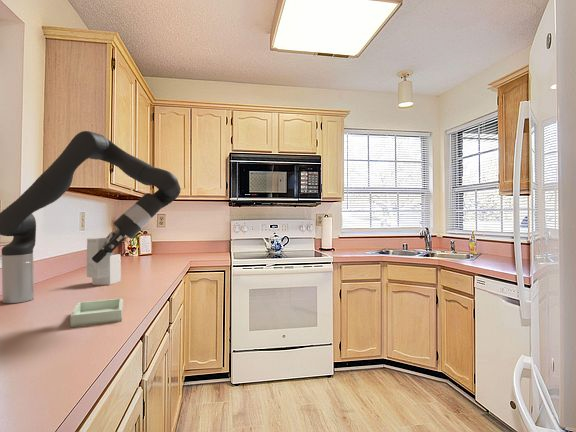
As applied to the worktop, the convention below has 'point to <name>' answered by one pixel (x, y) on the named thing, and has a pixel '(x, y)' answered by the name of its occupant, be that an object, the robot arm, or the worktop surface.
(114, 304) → the tray
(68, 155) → the robot arm
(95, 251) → the skincare box
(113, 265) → the soap bottle
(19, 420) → the worktop surface
